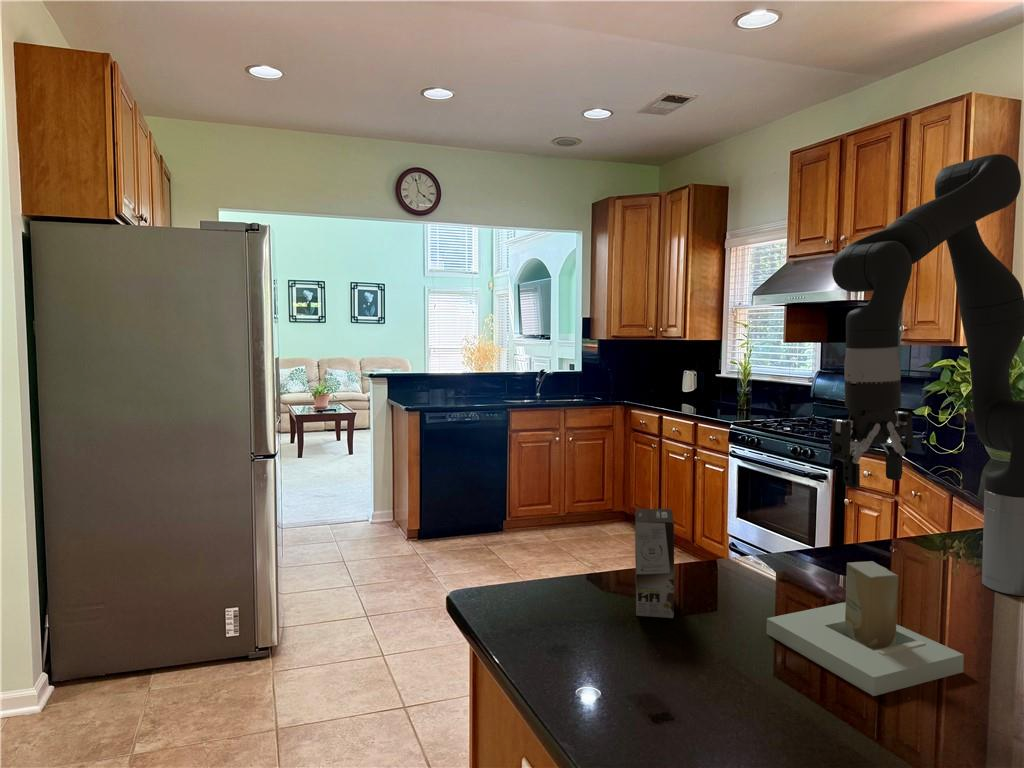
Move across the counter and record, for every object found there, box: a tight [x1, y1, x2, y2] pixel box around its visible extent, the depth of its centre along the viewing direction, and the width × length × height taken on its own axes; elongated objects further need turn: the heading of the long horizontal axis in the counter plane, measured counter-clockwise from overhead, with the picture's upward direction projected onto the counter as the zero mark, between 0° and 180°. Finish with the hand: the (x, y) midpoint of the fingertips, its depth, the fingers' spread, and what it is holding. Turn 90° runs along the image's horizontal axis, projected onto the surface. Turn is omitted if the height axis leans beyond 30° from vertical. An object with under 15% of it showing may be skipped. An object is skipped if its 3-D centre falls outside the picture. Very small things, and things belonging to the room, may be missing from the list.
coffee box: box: [634, 508, 675, 619], centre depth 120 cm, size 9×6×16 cm
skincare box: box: [845, 560, 899, 651], centre depth 102 cm, size 6×4×12 cm
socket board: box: [766, 601, 965, 697], centre depth 102 cm, size 16×20×3 cm
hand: (873, 483), depth 107 cm, fingers open, 8 cm apart
